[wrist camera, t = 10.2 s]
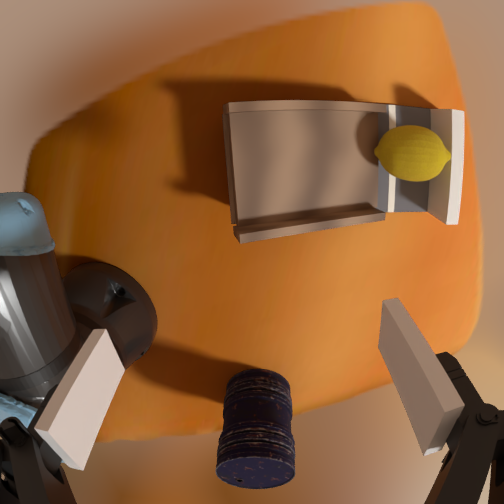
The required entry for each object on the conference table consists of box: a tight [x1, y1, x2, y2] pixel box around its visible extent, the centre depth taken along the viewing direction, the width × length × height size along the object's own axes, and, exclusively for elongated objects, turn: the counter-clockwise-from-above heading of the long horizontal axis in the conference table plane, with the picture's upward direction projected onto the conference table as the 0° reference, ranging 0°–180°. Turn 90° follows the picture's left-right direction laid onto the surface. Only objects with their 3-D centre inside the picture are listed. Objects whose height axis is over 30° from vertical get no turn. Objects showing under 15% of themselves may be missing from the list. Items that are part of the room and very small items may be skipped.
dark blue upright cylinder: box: [216, 369, 295, 489], centre depth 39 cm, size 10×10×15 cm
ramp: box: [222, 100, 387, 244], centre depth 28 cm, size 15×12×8 cm
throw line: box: [388, 105, 396, 212], centre depth 31 cm, size 1×12×1 cm, turn 4°
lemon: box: [374, 125, 451, 182], centre depth 27 cm, size 6×6×8 cm
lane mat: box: [376, 104, 431, 212], centre depth 31 cm, size 10×12×1 cm
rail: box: [427, 109, 464, 225], centre depth 29 cm, size 2×12×5 cm, turn 4°
